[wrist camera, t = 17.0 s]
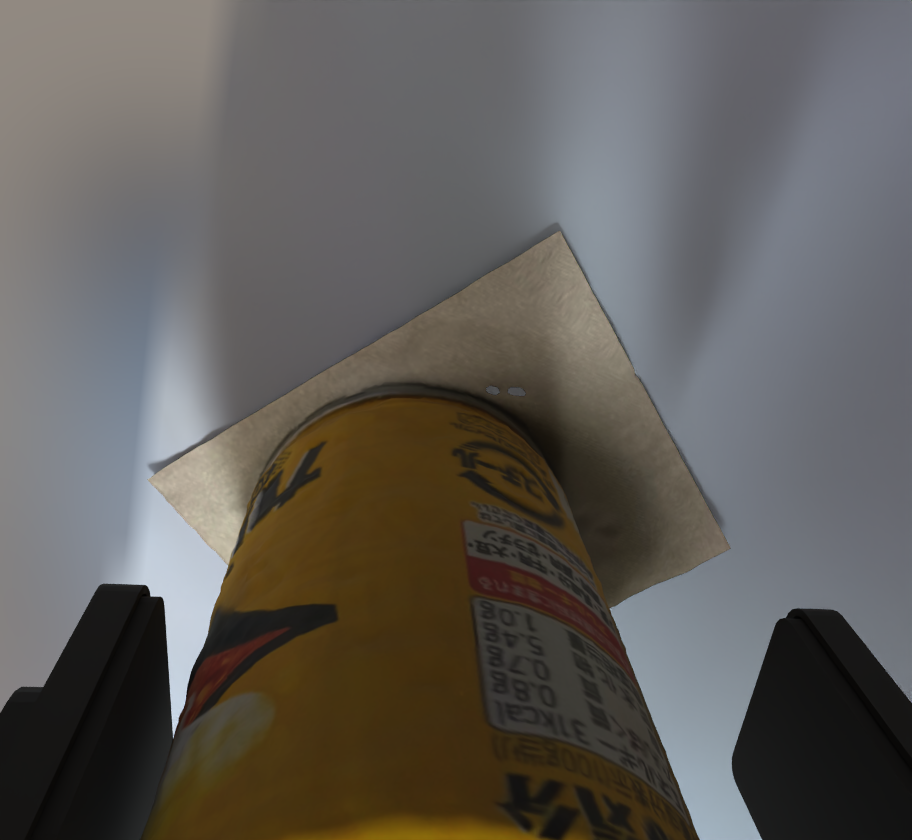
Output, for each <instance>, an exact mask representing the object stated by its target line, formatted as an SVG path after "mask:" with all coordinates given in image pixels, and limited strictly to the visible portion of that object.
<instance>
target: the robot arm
mask: <svg viewBox="0 0 912 840" xmlns="http://www.w3.org/2000/svg"><path fill="white" fill-rule="evenodd" d="M172 742H173V732H172V716H171V701H170V685H169V670H168V654H167V639H166V624H165V608H164V601H163V598H162V597H150V591H149V589H148V586H146V585H127V584H101V585H100V586H99V587H98V589H97V590H96V592H95V593H94V596H93V597H92V599H91V601H90V603H89V605H88V607H87V608H86V610H85V612H84V614H83V615H82V617H81V619H80V621H79V623H78V625H77V626H76V628H75V630H74V632H73V634H72V636H71V637H70V639H69V641H68V643H67V645H66V647H65V649H64V650H63V652H62V654H61V656H60V658H59V660H58V661H57V663H56V665H55V667H54V669H53V670H52V672H51V674H50V676H49V678H48V680H47V681H46V684H45V685H44V687H21V688H19V689H18V690H16V691H15V692H14V693H13V694H12V696H11V697H10V698H9V700H8V701H7V703H6V705H5V706H4V708H3V710H2V711H1V713H0V840H140V838H141V836H142V833H143V831H144V828H145V826H146V823H147V820H148V818H149V815H150V812H151V809H152V806H153V803H154V799H155V795H156V791H157V787H158V784H159V781H160V778H161V776H162V773H163V770H164V768H165V766H166V762H167V758H168V755H169V751H170V748H171V745H172ZM732 771H733V776H734V779H735V782H736V785H737V787H738V789H739V791H740V793H741V795H742V797H743V800H744V802H745V804H746V806H747V808H748V810H749V812H750V815H751V817H752V819H753V821H754V823H755V825H756V827H757V829H758V832H759V834H760V836H761V838H762V840H912V703H911V702H910V701H909V699H908V698H907V697H906V696H905V694H904V693H903V692H902V691H901V689H900V688H899V687H898V685H897V684H896V683H895V682H894V680H893V679H892V678H891V677H890V675H889V674H888V673H887V672H886V670H885V669H884V668H883V667H882V665H881V664H880V663H879V662H878V660H877V659H876V658H875V657H874V655H873V654H872V653H871V651H870V650H869V649H868V648H867V646H866V645H865V644H864V643H863V641H862V640H861V639H860V638H859V636H858V635H857V634H856V633H855V631H854V630H853V629H852V628H851V626H850V625H849V624H848V623H847V621H846V620H845V619H844V617H843V616H842V615H841V614H840V613H838V612H837V611H834V610H828V609H800V608H797V609H792V610H791V611H790V612H789V613H788V615H787V617H786V618H782V619H780V620H779V621H778V622H777V623H776V625H775V628H774V631H773V634H772V637H771V640H770V643H769V646H768V649H767V652H766V655H765V658H764V661H763V664H762V667H761V670H760V673H759V676H758V679H757V682H756V685H755V688H754V691H753V694H752V697H751V700H750V703H749V706H748V709H747V712H746V715H745V718H744V721H743V724H742V728H741V731H740V734H739V737H738V740H737V743H736V746H735V749H734V752H733V756H732Z"/></svg>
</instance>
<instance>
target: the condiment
mask: <svg viewBox="0 0 912 840" xmlns="http://www.w3.org/2000/svg"><path fill="white" fill-rule="evenodd" d="M491 385H492V386H494V387H498V388H499V391H500V393H499V394H497V395H492V394H489V393H487V392H486V387H489V386H491ZM510 387H520V388H522V389H524V391H525V393H526V395H525V396H513V395H510V394H509V393H508V392H507V391H508V389H509V388H510ZM147 480H148V481H149V482H150V483H151V484H152V485H153V486H154V487H155V488H156V489H157V490H158V491H159V492H160V493H161V494H162V495H163V496H164V497H165V499H166V500H167V502H168V503H170V504H171V505H172V506H173V508H174V509H175V510H176V511H177V512H178V513H179V514H180V515H181V516H182V517H183V519H184V520H185V521H186V522H187V523H188V524H189V525H190V526H191V527H192V528H193V529H195V530H196V531H197V533H198V534H199V535H200V536H201V538H202V539H203V540H204V541H205V543H206V544H207V545H208V546H209V547H210V548H212V549H213V550H214V551H216V553H217V554H218V555H219V556H220V557H221V558H222V560H223V561H224V562H225V563H226V564H227V565H228V569H227V573H226V575H225V577H224V580H223V583H222V586H221V592H220V595H219V597H218V599H217V601H216V603H215V606H214V609H213V612H212V616H211V620H210V626H209V631H208V636H207V638H206V641H205V644H204V647H203V649H202V650H201V652H200V654H199V656H198V658H197V660H196V662H195V664H194V666H193V669H192V671H191V675H190V679H189V683H188V687H187V695H186V702H185V706H184V709H183V711H182V713H181V714H180V716H179V722H178V725H177V728H176V731H175V735H174V738H173V742H172V745H171V748H170V751H169V755H168V758H167V762H166V766H165V768H164V770H163V773H162V776H161V778H160V781H159V784H158V787H157V791H156V795H155V799H154V803H153V806H152V809H151V812H150V815H149V818H148V820H147V823H146V826H145V828H144V831H143V833H142V836H141V838H140V840H700V839H699V837H698V835H697V833H696V830H695V828H694V826H693V823H692V819H691V816H690V813H689V811H688V808H687V806H686V804H685V801H684V799H683V797H682V794H681V792H680V788H679V785H678V782H677V780H676V778H675V776H674V774H673V771H672V768H671V766H670V763H669V761H668V758H667V755H666V751H665V749H664V747H663V745H662V743H661V740H660V737H659V734H658V732H657V730H656V727H655V725H654V723H653V720H652V717H651V714H650V712H649V710H648V708H647V705H646V702H645V700H644V697H643V694H642V691H641V689H640V686H639V684H638V682H637V679H636V677H635V674H634V671H633V668H632V666H631V664H630V661H629V659H628V656H627V654H626V648H625V646H624V644H623V642H622V640H621V637H620V634H619V631H618V629H617V627H616V624H615V621H614V619H613V617H612V615H611V611H610V609H609V608H611V607H614V606H616V605H618V604H619V603H620V602H622V601H623V600H625V599H627V598H628V597H630V596H632V595H634V594H637V593H639V592H641V591H643V590H645V589H647V588H649V587H651V586H653V585H655V584H657V583H660V582H663V581H666V580H668V579H671V578H673V577H675V576H678V575H681V574H684V573H686V572H688V571H690V570H692V569H693V568H695V567H696V566H698V565H700V564H701V563H703V562H705V561H707V560H709V559H711V558H713V557H715V556H717V555H719V554H721V553H723V552H725V551H727V550H729V549H731V548H730V546H729V544H728V542H727V540H726V538H725V537H724V535H723V533H722V531H721V529H720V527H719V525H718V524H717V522H716V520H715V519H714V517H713V515H712V513H711V511H710V509H709V508H708V506H707V504H706V502H705V500H704V498H703V496H702V495H701V493H700V491H699V489H698V487H697V485H696V484H695V482H694V480H693V478H692V476H691V474H690V472H689V471H688V469H687V467H686V465H685V463H684V462H683V460H682V458H681V456H680V454H679V452H678V450H677V448H676V446H675V444H674V442H673V441H672V439H671V437H670V435H669V434H668V432H667V430H666V429H665V427H664V425H663V423H662V421H661V419H660V417H659V415H658V413H657V411H656V409H655V407H654V406H653V404H652V402H651V400H650V398H649V396H648V394H647V392H646V391H645V389H644V387H643V385H642V383H641V382H640V380H639V378H638V377H636V375H635V371H634V368H633V366H632V365H631V363H630V361H629V359H628V357H627V355H626V353H625V351H624V349H623V348H622V346H621V344H620V343H619V341H618V338H617V336H616V334H615V332H614V331H613V329H612V327H611V325H610V323H609V321H608V320H607V318H606V316H605V314H604V312H603V310H602V309H601V307H600V305H599V303H598V301H597V299H596V298H595V296H594V294H593V292H592V291H591V288H590V286H589V284H588V282H587V280H586V278H585V276H584V275H583V273H582V271H581V269H580V267H579V265H578V263H577V261H576V260H575V258H574V256H573V254H572V252H571V250H570V249H569V247H568V245H567V243H566V241H565V239H564V237H563V235H562V234H561V232H560V231H558V232H556V233H555V234H553V235H551V236H550V237H548V238H546V239H545V240H543V241H541V242H540V243H538V244H536V245H535V246H533V247H531V248H530V249H529V250H527V251H526V252H524V253H523V254H521V255H519V256H518V257H516V258H514V259H513V260H511V261H509V262H508V263H506V264H504V265H502V266H501V267H499V268H497V269H495V270H493V271H491V272H490V273H488V274H486V275H485V276H483V277H481V278H480V279H478V280H476V281H475V282H473V283H472V284H470V285H469V286H468V287H466V288H465V289H463V290H462V291H460V292H458V293H457V294H455V295H454V296H452V297H450V298H448V299H446V300H444V301H443V302H441V303H439V304H438V305H436V306H435V307H433V308H431V309H430V310H428V311H426V312H424V313H422V314H420V315H419V316H417V317H415V318H414V319H412V320H411V321H410V322H408V323H406V324H405V325H403V326H402V327H400V328H398V329H397V330H394V331H392V332H390V333H388V334H387V335H385V336H383V337H382V338H380V339H379V340H377V341H376V342H374V343H372V344H370V345H369V346H367V347H365V348H363V349H361V350H360V351H358V352H356V353H355V354H353V355H351V356H349V357H347V358H345V359H344V360H342V361H340V362H339V363H337V364H335V365H333V366H332V367H330V368H328V369H327V370H325V371H323V372H322V373H320V374H318V375H317V376H315V377H313V378H311V379H310V380H308V381H307V382H305V383H304V384H302V385H300V386H299V387H297V388H295V389H294V390H292V391H290V392H289V393H287V394H286V395H284V396H282V397H281V398H279V399H277V400H275V401H274V402H272V403H270V404H268V405H267V406H265V407H264V408H262V409H260V410H259V411H257V412H256V413H254V414H252V415H250V416H249V417H247V418H245V419H243V420H242V421H240V422H238V423H237V424H235V425H233V426H232V427H230V428H228V429H227V430H225V431H224V432H222V433H221V434H219V435H218V436H216V437H215V438H213V439H211V440H210V441H208V442H206V443H204V444H202V445H200V446H198V447H197V448H195V449H194V450H192V451H191V452H189V453H187V454H185V455H184V456H182V457H181V458H179V459H178V460H176V461H175V462H173V463H171V464H170V465H168V466H166V467H165V468H163V469H162V470H161V471H159V472H158V473H156V474H155V475H154V476H152V477H151V478H149V479H147Z"/></svg>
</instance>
